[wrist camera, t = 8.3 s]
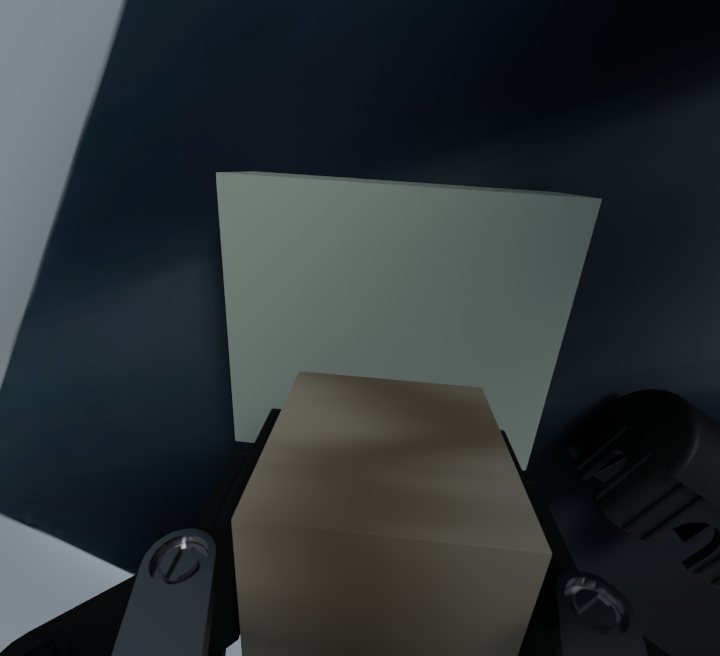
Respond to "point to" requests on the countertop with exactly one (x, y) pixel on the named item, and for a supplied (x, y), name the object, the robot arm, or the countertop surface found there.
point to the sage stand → (398, 288)
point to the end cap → (656, 471)
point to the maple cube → (385, 526)
